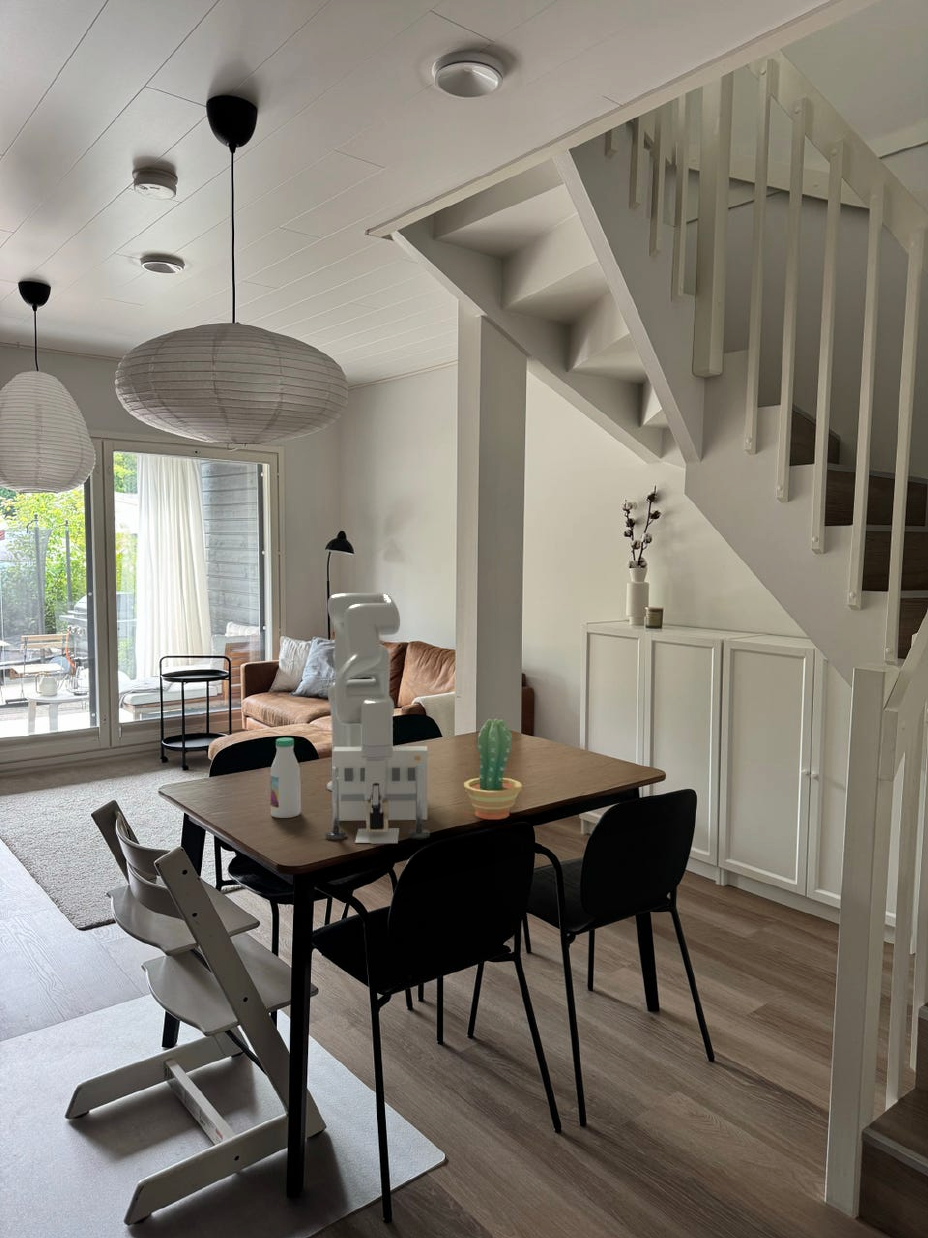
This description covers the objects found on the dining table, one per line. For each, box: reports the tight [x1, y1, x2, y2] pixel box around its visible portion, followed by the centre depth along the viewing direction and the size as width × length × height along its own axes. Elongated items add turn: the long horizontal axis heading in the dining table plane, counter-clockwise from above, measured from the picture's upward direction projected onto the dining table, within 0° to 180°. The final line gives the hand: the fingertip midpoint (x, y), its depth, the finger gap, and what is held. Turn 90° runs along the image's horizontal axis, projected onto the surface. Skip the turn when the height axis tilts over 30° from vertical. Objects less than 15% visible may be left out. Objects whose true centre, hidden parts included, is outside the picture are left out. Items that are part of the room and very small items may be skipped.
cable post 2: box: [408, 766, 431, 840], centre depth 207 cm, size 5×5×17 cm
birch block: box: [365, 797, 389, 832], centre depth 207 cm, size 5×5×7 cm
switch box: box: [333, 745, 429, 822], centre depth 222 cm, size 6×24×18 cm, turn 92°
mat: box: [354, 827, 400, 845], centre depth 207 cm, size 10×10×1 cm
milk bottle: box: [269, 737, 302, 819], centre depth 224 cm, size 8×8×20 cm
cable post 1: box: [324, 766, 347, 841], centre depth 206 cm, size 5×5×17 cm
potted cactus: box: [463, 718, 523, 820], centre depth 224 cm, size 15×15×25 cm
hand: (377, 824), depth 207 cm, fingers closed on birch block, 5 cm apart
